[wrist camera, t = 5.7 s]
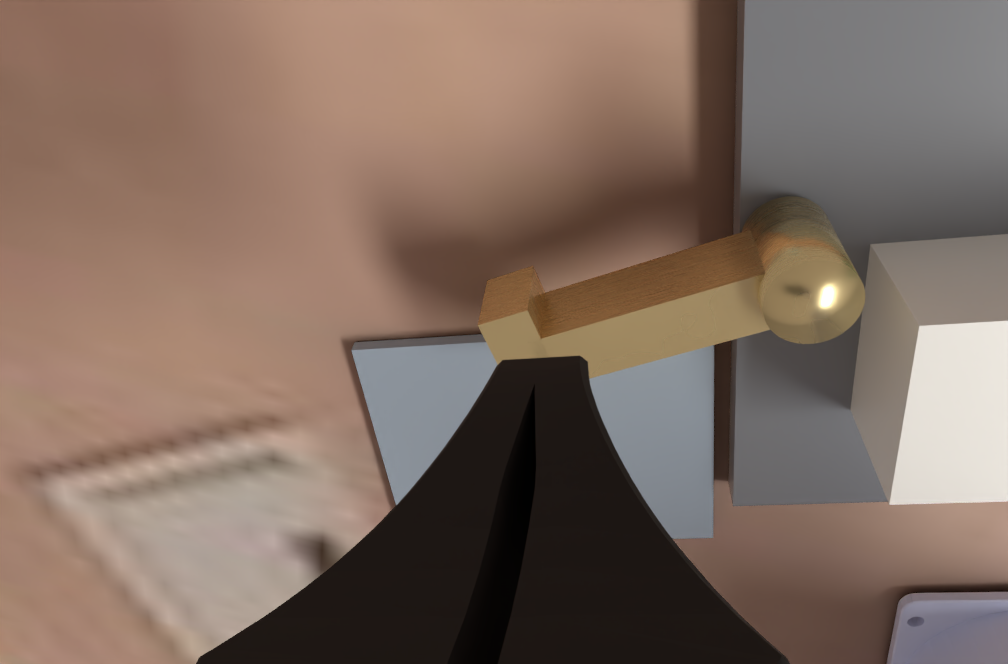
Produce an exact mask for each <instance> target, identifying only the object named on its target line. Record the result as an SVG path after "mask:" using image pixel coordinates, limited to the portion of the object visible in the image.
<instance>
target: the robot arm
mask: <svg viewBox="0 0 1008 664" xmlns="http://www.w3.org/2000/svg"><path fill="white" fill-rule="evenodd" d="M196 664H790V663H789V661H788V660H787V658H786V657H785V656H784V655H783V654H782V653H780V652H779V651H778V650H777V649H776V648H775V647H774V646H773V645H771V644H770V643H769V642H768V641H767V640H766V639H765V638H764V637H762V636H761V635H760V634H759V633H758V632H757V631H756V630H755V629H754V628H753V627H752V626H751V625H750V624H749V623H748V622H747V621H746V620H744V619H743V618H742V617H741V616H740V615H739V614H738V613H737V612H736V611H735V610H734V609H733V608H732V606H731V605H730V604H729V603H728V602H727V601H726V600H725V599H724V598H723V597H722V596H721V595H720V594H719V593H718V592H717V591H716V590H715V589H714V588H713V587H712V586H711V584H710V583H709V582H708V581H707V580H706V579H705V577H704V576H703V575H702V574H701V573H700V572H699V570H698V569H697V568H696V567H695V566H694V565H693V563H692V562H691V561H690V560H689V559H688V558H687V556H686V555H685V554H684V553H683V552H682V551H681V549H680V548H679V547H678V546H677V544H676V543H675V542H674V541H673V539H672V538H671V536H670V535H669V534H668V532H667V531H666V530H665V528H664V527H663V526H662V524H661V523H660V522H659V520H658V519H657V517H656V516H655V514H654V513H653V511H652V510H651V509H650V507H649V506H648V504H647V503H646V501H645V500H644V498H643V496H642V495H641V493H640V492H639V490H638V488H637V487H636V485H635V483H634V482H633V480H632V478H631V477H630V475H629V473H628V471H627V469H626V468H625V466H624V464H623V462H622V460H621V459H620V457H619V455H618V453H617V451H616V449H615V447H614V445H613V443H612V440H611V438H610V436H609V434H608V432H607V429H606V427H605V425H604V423H603V421H602V418H601V416H600V413H599V411H598V408H597V405H596V402H595V399H594V396H593V393H592V389H591V386H590V380H589V370H588V361H586V360H585V359H584V358H583V357H581V356H563V357H546V358H528V359H510V360H502V361H501V362H500V363H499V364H498V365H497V366H496V368H495V370H494V371H493V373H492V375H491V377H490V378H489V380H488V382H487V384H486V385H485V387H484V389H483V390H482V392H481V394H480V395H479V397H478V398H477V400H476V402H475V403H474V405H473V406H472V408H471V409H470V411H469V412H468V414H467V416H466V417H465V418H464V420H463V421H462V423H461V424H460V426H459V427H458V428H457V430H456V431H455V433H454V434H453V436H452V437H451V439H450V440H449V441H448V443H447V444H446V446H445V447H444V448H443V450H442V451H441V452H440V454H439V455H438V456H437V457H436V459H435V460H434V461H433V462H432V464H431V465H430V466H429V467H428V469H427V470H426V471H425V472H424V474H423V475H422V476H421V477H420V479H419V480H418V481H417V482H416V484H415V485H414V486H413V487H412V488H411V489H410V491H409V492H408V493H407V494H406V495H405V496H404V497H403V499H402V500H401V501H400V502H399V503H398V504H397V505H396V506H395V507H394V508H393V509H392V510H391V511H390V513H389V514H388V515H387V516H386V517H385V518H384V519H383V520H382V521H381V522H380V523H379V524H378V525H377V526H376V527H375V528H374V529H373V530H372V531H371V532H370V533H369V534H367V535H366V536H365V537H364V538H363V539H362V540H361V541H360V542H359V543H358V544H357V545H356V546H354V547H353V548H352V549H351V550H350V551H349V552H348V553H347V554H345V555H344V556H343V557H342V558H341V559H340V560H339V561H338V562H336V563H335V564H334V565H333V566H332V567H331V568H329V569H328V570H327V571H326V572H324V573H323V574H322V575H321V576H319V577H318V578H317V579H315V580H314V581H313V582H312V583H310V584H309V585H308V586H306V587H305V588H304V589H303V590H301V591H300V592H298V593H297V594H296V595H294V596H293V597H292V598H290V599H289V600H287V601H286V602H285V603H283V604H282V605H281V606H279V607H278V608H276V609H275V610H273V611H272V612H270V613H269V614H268V615H266V616H265V617H263V618H262V619H260V620H258V621H257V622H255V623H254V624H252V625H251V626H249V627H247V628H246V629H244V630H243V631H241V632H239V633H238V634H236V635H235V636H233V637H232V638H230V639H228V640H227V641H225V642H224V643H222V644H220V645H219V646H217V647H216V648H214V649H212V650H211V651H209V652H207V653H206V654H204V655H202V656H200V658H199V659H198V661H197V663H196ZM887 664H1008V592H946V593H911V594H908V595H905V596H904V597H903V598H901V599H900V601H899V603H898V607H897V612H896V617H895V623H894V628H893V633H892V638H891V643H890V648H889V654H888V659H887Z"/></svg>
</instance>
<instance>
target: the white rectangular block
mask: <svg viewBox="0 0 1008 664" xmlns="http://www.w3.org/2000/svg"><path fill="white" fill-rule="evenodd" d="M850 410H851V412H852V415H853V417H854V420H855V422H856V425H857V427H858V429H859V432H860V434H861V437H862V439H863V442H864V444H865V447H866V449H867V451H868V454H869V456H870V459H871V461H872V464H873V466H874V469H875V471H876V474H877V476H878V478H879V481H880V483H881V486H882V488H883V491H884V493H885V496H886V498H887V500H888V503H889V505H902V504H936V503H971V502H1005V501H1008V234H1000V235H987V236H974V237H960V238H947V239H933V240H920V241H906V242H893V243H879V244H870V252H869V260H868V269H867V277H866V285H865V303H864V307H863V310H862V318H861V326H860V335H859V343H858V351H857V359H856V368H855V376H854V384H853V392H852V401H851V409H850Z"/></svg>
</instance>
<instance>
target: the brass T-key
mask: <svg viewBox="0 0 1008 664" xmlns="http://www.w3.org/2000/svg"><path fill="white" fill-rule="evenodd" d="M864 303H865V289H864V285H863V283H862V281H861V279H860V277H859V275H858V273H857V271H856V270H855V268H854V266H853V264H852V262H851V260H850V258H849V257H848V255H847V253H846V251H845V249H844V247H843V245H842V243H841V242H840V240H839V238H838V236H837V234H836V232H835V230H834V229H833V227H832V225H831V223H830V221H829V219H828V217H827V215H826V214H825V212H824V211H823V209H822V208H821V207H820V206H819V205H817V204H816V203H814V202H813V201H811V200H808V199H806V198H802V197H795V196H787V197H781V198H777V199H774V200H771V201H769V202H767V203H765V204H763V205H761V206H760V207H759V208H757V209H756V210H755V211H754V212H753V213H752V214H751V215H750V216H749V218H748V219H747V221H746V223H745V224H744V227H743V229H742V232H741V233H738V234H735V235H731V236H728V237H725V238H722V239H718V240H715V241H712V242H709V243H705V244H702V245H699V246H696V247H692V248H689V249H686V250H683V251H679V252H676V253H673V254H670V255H666V256H663V257H660V258H657V259H653V260H650V261H647V262H644V263H640V264H637V265H634V266H631V267H627V268H624V269H621V270H618V271H614V272H611V273H608V274H605V275H601V276H598V277H595V278H592V279H588V280H585V281H582V282H579V283H575V284H572V285H569V286H566V287H562V288H559V289H556V290H553V291H549V292H546V293H545V291H544V289H543V287H542V285H541V282H540V280H539V278H538V276H537V273H536V271H535V269H534V267H533V266H531V267H528V268H524V269H521V270H518V271H515V272H512V273H509V274H506V275H503V276H499V277H496V278H493V279H490V280H487V284H486V289H485V294H484V298H483V303H482V308H481V312H480V317H479V322H478V327H479V329H480V331H481V333H482V335H483V337H484V339H485V341H486V343H487V345H488V347H489V349H490V351H491V353H492V355H493V357H494V359H495V361H496V363H497V364H499V363H500V362H501V361H502V360H510V359H528V358H546V357H563V356H581V357H583V358H584V359H585V360H586V361H588V370H589V379H590V378H594V377H598V376H601V375H605V374H609V373H612V372H616V371H620V370H623V369H627V368H631V367H634V366H638V365H642V364H645V363H649V362H653V361H657V360H660V359H664V358H668V357H671V356H675V355H679V354H682V353H686V352H690V351H693V350H697V349H701V348H704V347H708V346H712V345H716V344H719V343H723V342H727V341H730V340H734V339H738V338H741V337H745V336H749V335H752V334H756V333H760V332H763V331H767V330H771V331H772V332H773V333H775V334H776V335H777V336H779V337H780V338H782V339H784V340H787V341H789V342H793V343H798V344H814V343H820V342H824V341H827V340H830V339H833V338H835V337H837V336H839V335H840V334H842V333H843V332H845V331H846V330H848V329H849V328H850V327H851V326H852V325H853V324H854V323H855V322H856V320H857V319H858V317H859V316H860V314H861V312H862V310H863V307H864Z"/></svg>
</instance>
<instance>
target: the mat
mask: <svg viewBox="0 0 1008 664" xmlns="http://www.w3.org/2000/svg"><path fill="white" fill-rule="evenodd" d="M351 351H352V354H353V358H354V361H355V365H356V368H357V372H358V375H359V379H360V382H361V386H362V389H363V392H364V396H365V399H366V403H367V406H368V410H369V413H370V417H371V420H372V424H373V427H374V431H375V434H376V437H377V441H378V444H379V448H380V451H381V455H382V458H383V462H384V465H385V469H386V472H387V476H388V479H389V482H390V486H391V489H392V493H393V496H394V500H395V503H396V505H397V504H398V503H399V502H400V501H401V500H402V499H403V497H404V496H405V495H406V494H407V493H408V492H409V491H410V489H411V488H412V487H413V486H414V485H415V484H416V482H417V481H418V480H419V479H420V477H421V476H422V475H423V474H424V472H425V471H426V470H427V469H428V467H429V466H430V465H431V464H432V462H433V461H434V460H435V459H436V457H437V456H438V455H439V454H440V452H441V451H442V450H443V448H444V447H445V446H446V444H447V443H448V441H449V440H450V439H451V437H452V436H453V434H454V433H455V431H456V430H457V428H458V427H459V426H460V424H461V423H462V421H463V420H464V418H465V417H466V416H467V414H468V412H469V411H470V409H471V408H472V406H473V405H474V403H475V402H476V400H477V398H478V397H479V395H480V394H481V392H482V390H483V389H484V387H485V385H486V384H487V382H488V380H489V378H490V377H491V375H492V373H493V371H494V370H495V368H496V366H497V365H498V364H497V363H496V361H495V359H494V357H493V355H492V353H491V351H490V349H489V347H488V345H487V343H486V341H485V339H484V337H483V335H482V334H478V335H462V336H446V337H430V338H415V339H399V340H383V341H367V342H355V343H354V345H353V348H352V350H351ZM589 380H590V386H591V389H592V393H593V396H594V399H595V402H596V405H597V408H598V411H599V413H600V416H601V418H602V421H603V423H604V425H605V427H606V429H607V432H608V434H609V436H610V438H611V440H612V443H613V445H614V447H615V449H616V451H617V453H618V455H619V457H620V459H621V460H622V462H623V464H624V466H625V468H626V469H627V471H628V473H629V475H630V477H631V478H632V480H633V482H634V483H635V485H636V487H637V488H638V490H639V492H640V493H641V495H642V496H643V498H644V500H645V501H646V503H647V504H648V506H649V507H650V509H651V510H652V511H653V513H654V514H655V516H656V517H657V519H658V520H659V522H660V523H661V524H662V526H663V527H664V528H665V530H666V531H667V532H668V534H669V535H670V536H671V538H672V539H687V538H713V481H714V345H712V346H708V347H704V348H701V349H697V350H693V351H690V352H686V353H682V354H679V355H675V356H671V357H668V358H664V359H660V360H657V361H653V362H649V363H645V364H642V365H638V366H634V367H631V368H627V369H623V370H620V371H616V372H612V373H609V374H605V375H601V376H598V377H594V378H590V379H589Z"/></svg>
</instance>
